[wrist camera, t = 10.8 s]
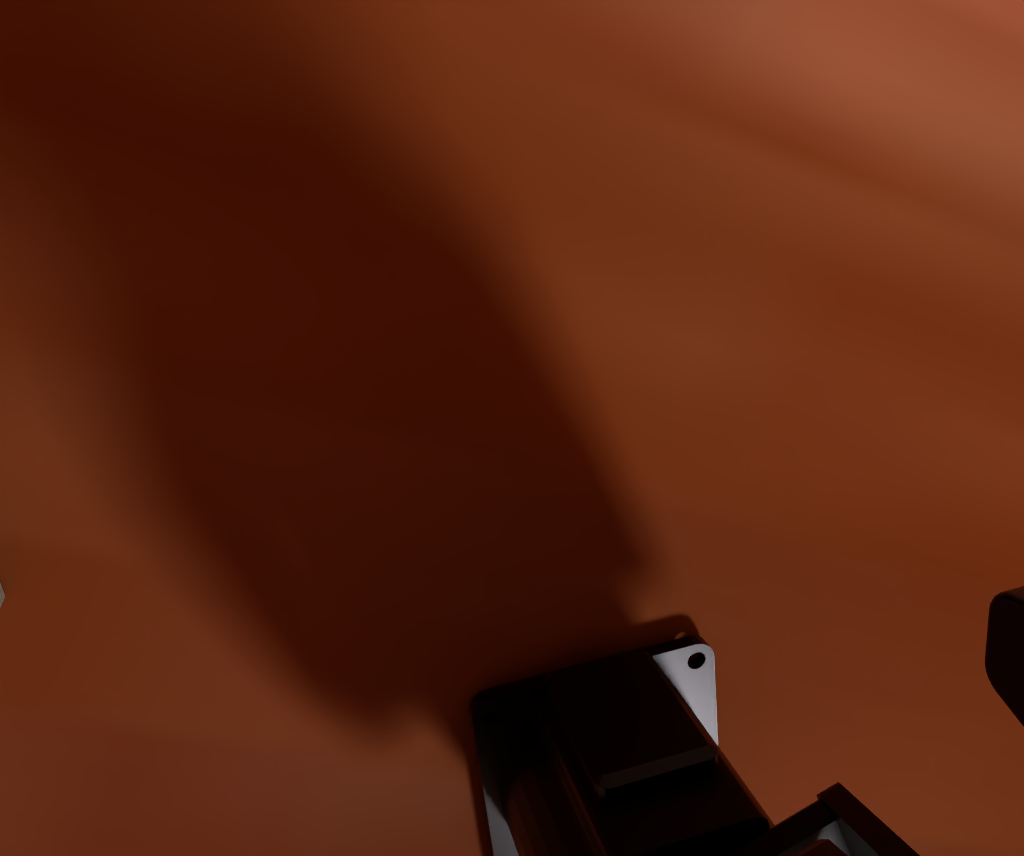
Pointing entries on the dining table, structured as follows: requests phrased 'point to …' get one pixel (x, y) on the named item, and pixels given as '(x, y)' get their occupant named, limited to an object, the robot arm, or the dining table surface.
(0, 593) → the rubber mat
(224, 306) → the dining table surface
